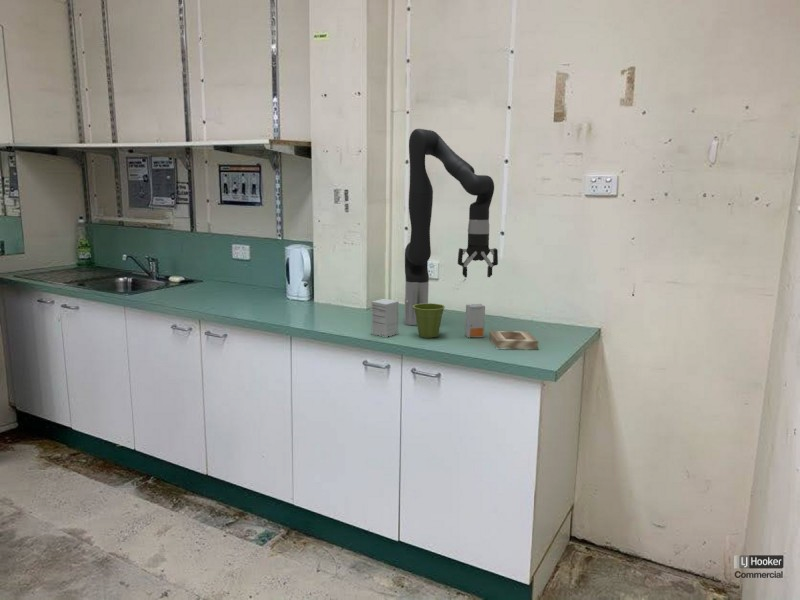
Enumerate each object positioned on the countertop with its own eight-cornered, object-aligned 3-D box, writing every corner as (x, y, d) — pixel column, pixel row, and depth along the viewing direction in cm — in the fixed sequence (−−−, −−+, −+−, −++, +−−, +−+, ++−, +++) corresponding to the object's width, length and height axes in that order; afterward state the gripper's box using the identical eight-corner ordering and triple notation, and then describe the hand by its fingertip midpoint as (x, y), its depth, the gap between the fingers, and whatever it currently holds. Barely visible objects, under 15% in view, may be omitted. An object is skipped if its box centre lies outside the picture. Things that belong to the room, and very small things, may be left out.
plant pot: (440, 331, 222) (441, 302, 220) (447, 339, 210) (448, 309, 208) (409, 332, 220) (410, 303, 218) (415, 340, 209) (415, 309, 207)
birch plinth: (497, 349, 199) (497, 340, 198) (489, 338, 212) (489, 330, 212) (537, 349, 199) (538, 340, 199) (526, 339, 213) (527, 330, 212)
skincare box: (468, 338, 212) (470, 306, 210) (464, 335, 216) (465, 304, 214) (484, 337, 214) (485, 306, 212) (479, 335, 218) (480, 303, 216)
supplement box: (383, 330, 222) (384, 298, 219) (398, 334, 217) (399, 301, 215) (370, 334, 216) (371, 301, 213) (385, 337, 211) (386, 303, 209)
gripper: (460, 233, 204) (459, 278, 207) (500, 233, 205) (498, 278, 208) (457, 231, 211) (456, 275, 214) (496, 231, 212) (494, 275, 215)
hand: (477, 277), depth 211 cm, fingers open, 8 cm apart
